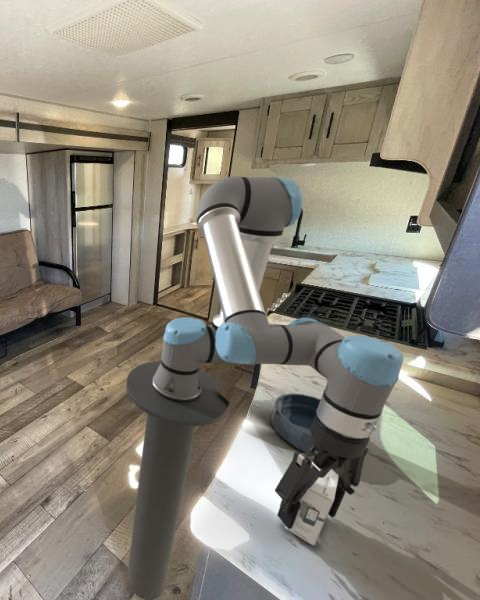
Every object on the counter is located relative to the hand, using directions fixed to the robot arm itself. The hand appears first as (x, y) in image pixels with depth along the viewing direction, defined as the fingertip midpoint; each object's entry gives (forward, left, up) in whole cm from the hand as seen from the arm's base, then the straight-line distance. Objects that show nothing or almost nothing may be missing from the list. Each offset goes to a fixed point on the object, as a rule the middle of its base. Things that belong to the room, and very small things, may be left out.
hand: (305, 515), depth 63 cm
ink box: (0, 0, -2) cm, 2 cm away
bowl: (-19, +22, -2) cm, 29 cm away
